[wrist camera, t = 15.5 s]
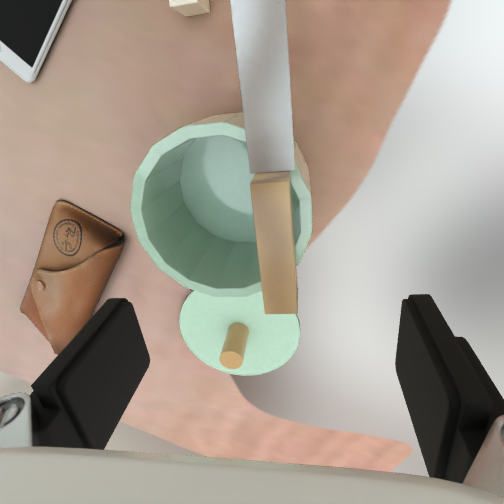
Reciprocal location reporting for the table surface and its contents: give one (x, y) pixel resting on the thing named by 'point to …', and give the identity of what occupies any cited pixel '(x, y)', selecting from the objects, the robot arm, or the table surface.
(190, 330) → the lid
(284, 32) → the knife
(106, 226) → the sunglasses case
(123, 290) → the table surface
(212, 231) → the pot
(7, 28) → the smartphone
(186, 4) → the pair of cream blocks
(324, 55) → the table surface
